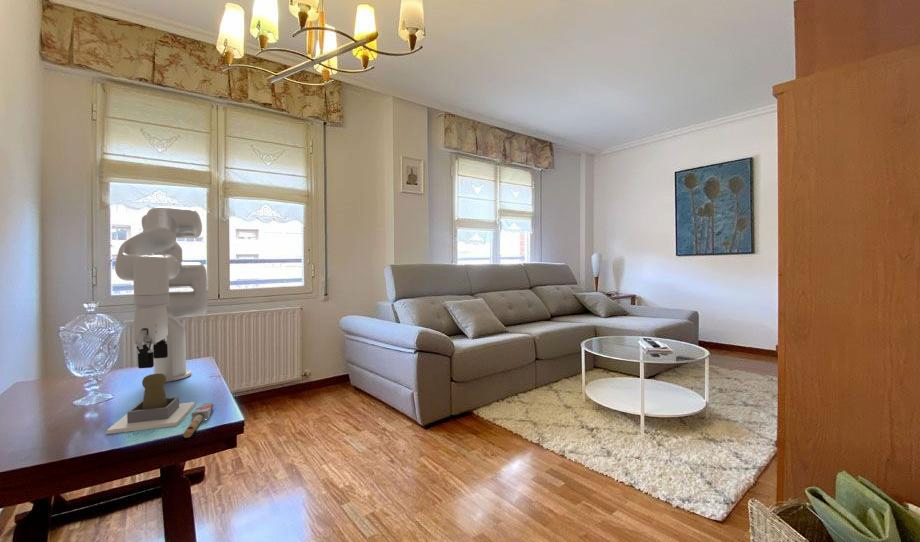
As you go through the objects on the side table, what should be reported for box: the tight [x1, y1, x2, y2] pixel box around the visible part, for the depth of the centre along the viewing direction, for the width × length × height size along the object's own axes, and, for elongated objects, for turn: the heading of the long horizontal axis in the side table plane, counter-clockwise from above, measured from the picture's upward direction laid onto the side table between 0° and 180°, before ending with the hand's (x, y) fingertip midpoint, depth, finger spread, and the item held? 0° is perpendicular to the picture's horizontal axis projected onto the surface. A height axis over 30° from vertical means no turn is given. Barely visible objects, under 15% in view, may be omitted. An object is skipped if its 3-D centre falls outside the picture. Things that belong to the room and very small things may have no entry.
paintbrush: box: [182, 402, 215, 439], centre depth 105 cm, size 4×3×20 cm
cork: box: [141, 373, 168, 410], centre depth 107 cm, size 6×6×11 cm
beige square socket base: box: [105, 396, 196, 435], centre depth 107 cm, size 15×15×4 cm
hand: (153, 362), depth 107 cm, fingers open, 9 cm apart
